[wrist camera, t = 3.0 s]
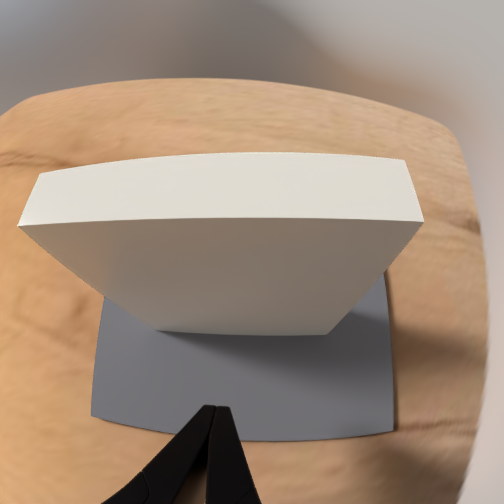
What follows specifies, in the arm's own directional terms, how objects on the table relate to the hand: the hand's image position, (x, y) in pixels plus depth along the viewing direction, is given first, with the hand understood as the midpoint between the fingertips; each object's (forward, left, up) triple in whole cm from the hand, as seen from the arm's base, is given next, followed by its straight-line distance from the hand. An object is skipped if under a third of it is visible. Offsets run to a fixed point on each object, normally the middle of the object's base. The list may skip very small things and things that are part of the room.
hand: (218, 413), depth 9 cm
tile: (+5, 0, -7) cm, 9 cm away
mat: (+6, 0, -8) cm, 10 cm away
